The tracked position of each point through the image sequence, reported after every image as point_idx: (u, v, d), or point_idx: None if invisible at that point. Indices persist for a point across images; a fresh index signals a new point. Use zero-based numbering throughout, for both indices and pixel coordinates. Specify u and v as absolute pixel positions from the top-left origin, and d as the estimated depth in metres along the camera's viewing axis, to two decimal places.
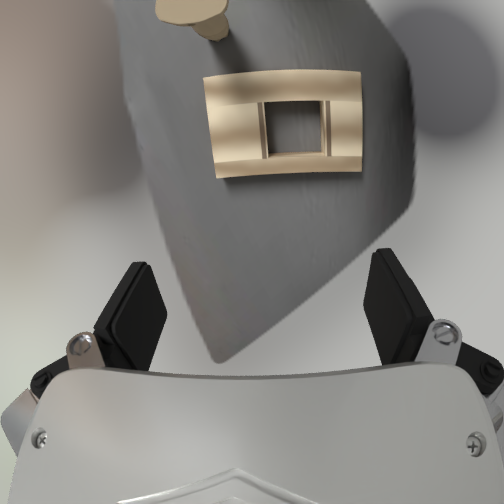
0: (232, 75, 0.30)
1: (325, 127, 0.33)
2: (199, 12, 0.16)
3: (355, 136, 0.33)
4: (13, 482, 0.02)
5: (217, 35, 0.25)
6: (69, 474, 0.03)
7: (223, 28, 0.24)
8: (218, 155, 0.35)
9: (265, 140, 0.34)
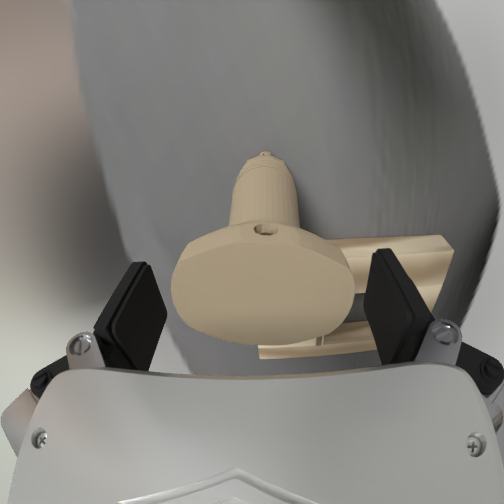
0: None
1: None
2: (283, 330, 0.10)
3: None
4: (13, 482, 0.02)
5: None
6: (69, 474, 0.03)
7: None
8: None
9: None
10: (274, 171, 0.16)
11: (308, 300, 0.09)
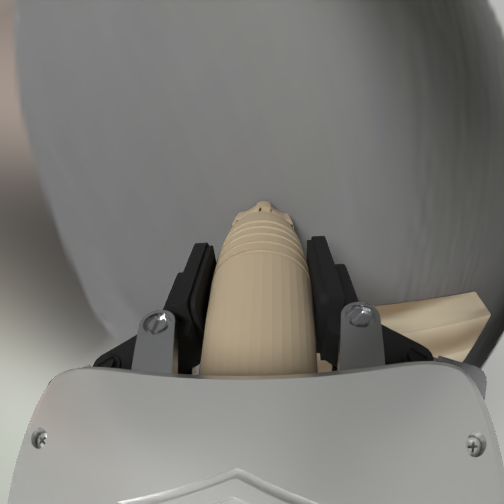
0: None
1: None
2: None
3: None
4: (13, 482, 0.02)
5: None
6: (69, 474, 0.03)
7: None
8: None
9: None
10: (276, 262, 0.10)
11: None
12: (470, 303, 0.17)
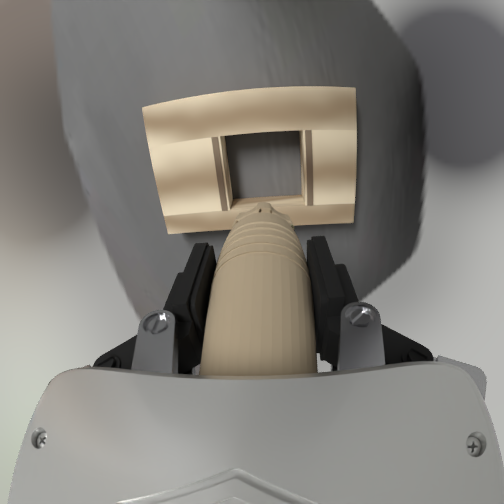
0: (177, 101, 0.22)
1: (305, 167, 0.26)
2: None
3: (346, 177, 0.26)
4: (13, 482, 0.02)
5: None
6: (69, 474, 0.03)
7: None
8: (167, 206, 0.28)
9: (224, 187, 0.27)
10: (276, 264, 0.10)
11: None
12: None
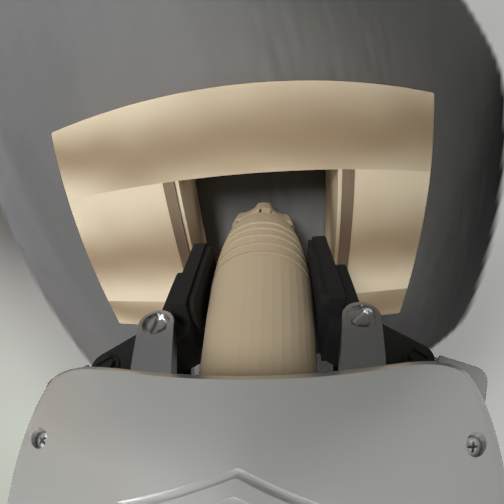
0: (101, 118, 0.11)
1: (337, 236, 0.14)
2: None
3: (402, 251, 0.14)
4: (13, 482, 0.02)
5: None
6: (69, 474, 0.03)
7: None
8: (110, 289, 0.17)
9: None
10: (276, 264, 0.10)
11: None
12: None
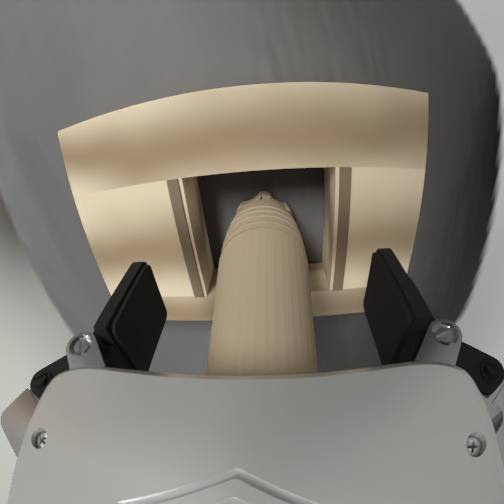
0: (107, 117, 0.12)
1: (335, 232, 0.15)
2: None
3: (399, 247, 0.15)
4: (13, 482, 0.02)
5: None
6: (69, 474, 0.03)
7: None
8: (114, 284, 0.17)
9: (196, 264, 0.16)
10: (277, 237, 0.11)
11: None
12: None
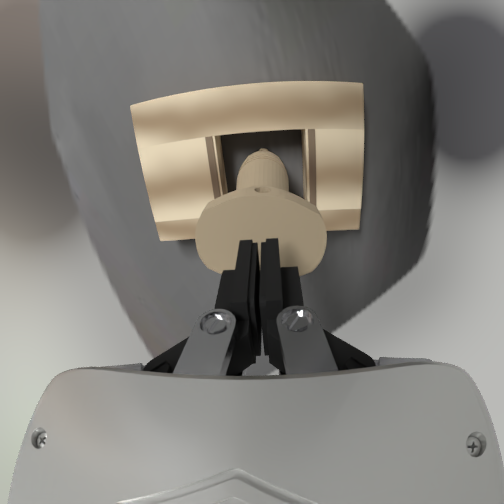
0: (168, 98, 0.20)
1: (307, 169, 0.23)
2: None
3: (352, 181, 0.24)
4: (13, 482, 0.02)
5: None
6: (69, 474, 0.03)
7: None
8: (159, 212, 0.26)
9: (220, 191, 0.25)
10: (269, 161, 0.20)
11: (293, 241, 0.13)
12: None
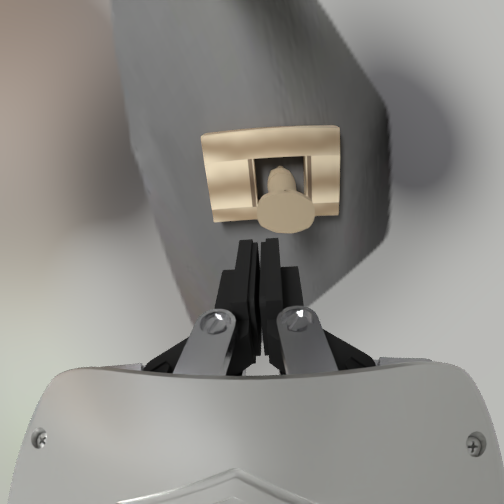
0: (225, 134, 0.37)
1: (306, 179, 0.40)
2: (292, 225, 0.31)
3: (333, 185, 0.41)
4: (13, 482, 0.02)
5: None
6: (69, 474, 0.03)
7: None
8: (215, 203, 0.43)
9: (255, 191, 0.42)
10: (286, 175, 0.37)
11: (300, 212, 0.30)
12: (327, 126, 0.37)
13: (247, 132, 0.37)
